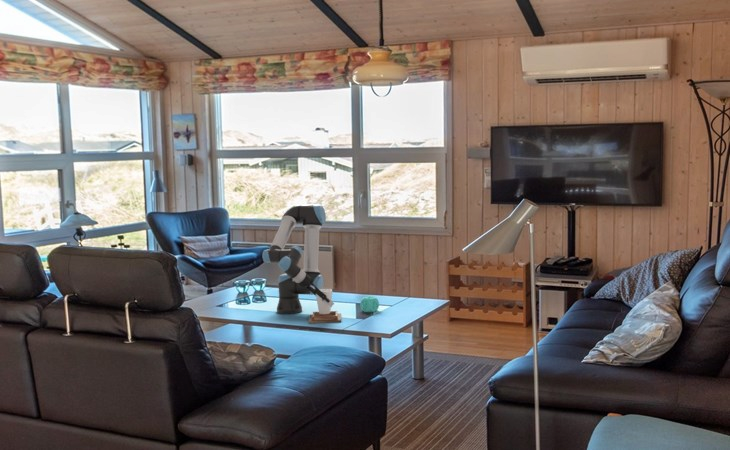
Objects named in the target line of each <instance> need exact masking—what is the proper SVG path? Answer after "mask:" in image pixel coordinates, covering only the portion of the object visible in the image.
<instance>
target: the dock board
mask: <svg viewBox="0 0 730 450" xmlns="http://www.w3.org/2000/svg"><path fill="white" fill-rule="evenodd" d="M338 312H339V311H338V310H330V313H329V314H319V311H312V314H309V317H308V324H309V325H310V324H329V323H330V324H331V323H335V324H336V323H342V313H338Z"/></svg>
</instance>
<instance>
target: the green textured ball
mask: <svg viewBox="0 0 730 450" xmlns="http://www.w3.org/2000/svg"><path fill="white" fill-rule="evenodd" d="M379 307H380V302H379V299H378V298H377V297H375V296H363V297H362V298H361V300H360V308H361V311H363V312H364V313H374V312H375V313H376V312H377V311H378V309H379Z"/></svg>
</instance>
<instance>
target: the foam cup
mask: <svg viewBox="0 0 730 450" xmlns="http://www.w3.org/2000/svg"><path fill="white" fill-rule="evenodd" d="M319 290H320V291H321V292H322V293H324V294H325V295H326V296H327V297H328V298H329V299H330V300H331V301H332V300H333V299H332V297H333V289H331V288H322V289H319ZM315 297H316V301H317V307H318V308H317V310H318V312H319V314H329V313H330V311H332V310H331V308H332V307H330V306H329V305H328V304H327V303H326V302H325V301H324V300H323V301H322V298H321V297H319V296H318V295H317V294H316V295H315ZM323 297H324V296H323Z"/></svg>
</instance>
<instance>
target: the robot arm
mask: <svg viewBox="0 0 730 450" xmlns="http://www.w3.org/2000/svg"><path fill="white" fill-rule="evenodd" d="M326 218H327V216H326V211H325V208H324V206H323V205H322V204H316V203H313V204H312V203H310V204H309V203H307V204H295V205H293V206H291V207H290V208H288V209H287V210H286V211H285V212H284V213H283V215H282V217H281V219H280V222H281V223H280V225H279V228H278V229H277V232H276V233H275V236H274V239H273V240H272V242H271V245H270V247H269V249H263V251H262V261H263V262H264V263H269V264H277V266H278V268H280V270H281V271H282V272H284V273H282V274H280V275H279V276H278V279H277V280H278V298H279V299H278V303H277V306H276V313H277V314H282V315H284V314H285V315H289V314H292V315H293V314H298V313H301V312H302V311H303V306H302V303H301V301H300V298H299V295H303V296H304V295H309V296H310V295H311V296H316V294H317V295H318V296H319V297H321V298H322V301H323V300H324V301H325V302H326V303H327V304H328V305H329V306H330V307H331V308H332V307H333V306H334V305H335V302H333V301H332V299H331V300H330V299H329V298H328V297H327V296H326V295H325V294H324V293H322V292H321V291H320V290H319V289H324V276H323V275H322V274H321V271H320V270H319V249H320V248H319V247H320V230H321V229H322V227H323V224H326ZM297 225H302V227H303V228H304V245H303V246H304V249H302V247H300V246H299V245H292V246H291V247H290V248H289V249H287V248H286V249H285V246H286V245H287V242H288V240H289V239H290V236H291V234H292V231H293V229H295V228H296V227H297ZM302 255H303V256H302ZM302 257H303V268H301V267H300V266H299V265H298V264H300V263H299V262H300V261H301V259H302ZM323 296H324V297H323Z"/></svg>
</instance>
